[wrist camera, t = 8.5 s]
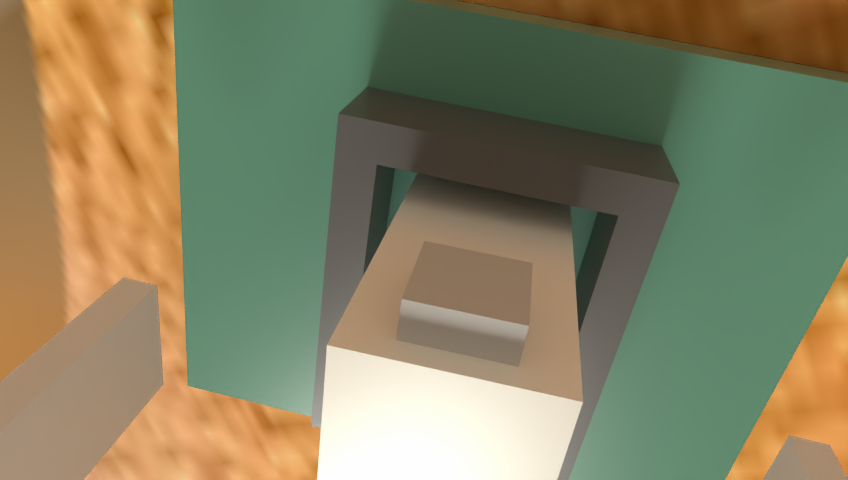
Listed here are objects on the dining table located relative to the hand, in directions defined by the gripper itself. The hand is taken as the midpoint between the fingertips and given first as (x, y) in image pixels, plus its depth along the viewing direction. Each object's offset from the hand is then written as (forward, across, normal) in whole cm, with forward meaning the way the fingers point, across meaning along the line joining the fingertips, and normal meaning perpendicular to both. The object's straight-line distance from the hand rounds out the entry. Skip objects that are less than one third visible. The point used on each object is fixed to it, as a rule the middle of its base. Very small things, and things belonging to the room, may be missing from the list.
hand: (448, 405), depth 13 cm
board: (+7, 0, 0) cm, 7 cm away
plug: (+5, 0, 0) cm, 5 cm away
